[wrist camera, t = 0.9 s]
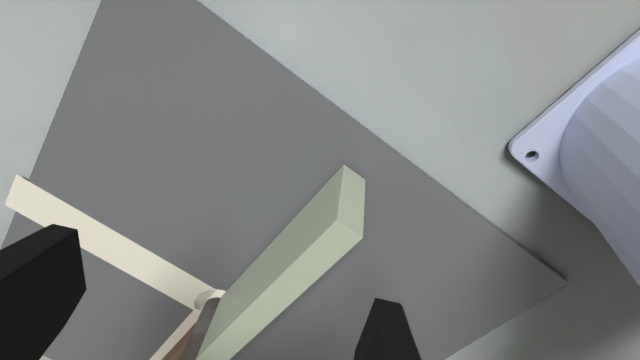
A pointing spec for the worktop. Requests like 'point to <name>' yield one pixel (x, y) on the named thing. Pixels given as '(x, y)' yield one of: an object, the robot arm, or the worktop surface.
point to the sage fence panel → (288, 265)
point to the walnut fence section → (194, 334)
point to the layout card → (243, 201)
